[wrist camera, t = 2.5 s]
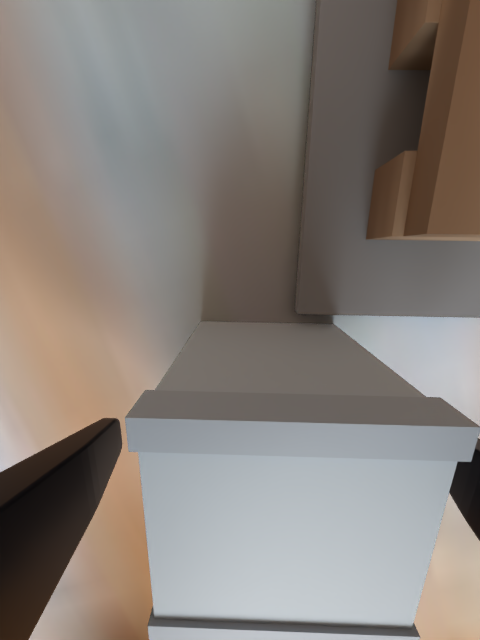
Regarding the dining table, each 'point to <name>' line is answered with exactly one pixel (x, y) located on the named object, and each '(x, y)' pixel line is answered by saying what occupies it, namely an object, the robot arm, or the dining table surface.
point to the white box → (290, 486)
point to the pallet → (435, 129)
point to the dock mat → (368, 179)
